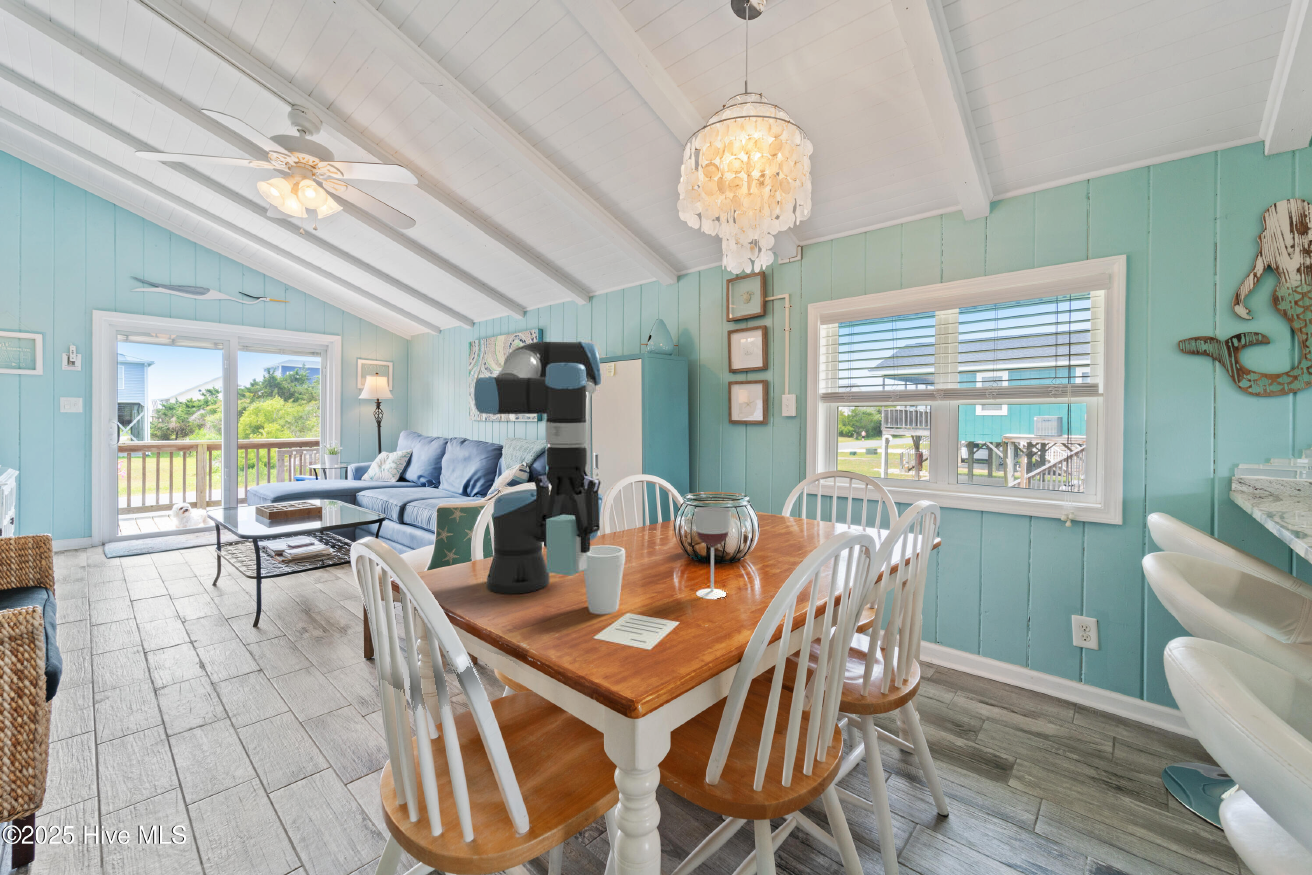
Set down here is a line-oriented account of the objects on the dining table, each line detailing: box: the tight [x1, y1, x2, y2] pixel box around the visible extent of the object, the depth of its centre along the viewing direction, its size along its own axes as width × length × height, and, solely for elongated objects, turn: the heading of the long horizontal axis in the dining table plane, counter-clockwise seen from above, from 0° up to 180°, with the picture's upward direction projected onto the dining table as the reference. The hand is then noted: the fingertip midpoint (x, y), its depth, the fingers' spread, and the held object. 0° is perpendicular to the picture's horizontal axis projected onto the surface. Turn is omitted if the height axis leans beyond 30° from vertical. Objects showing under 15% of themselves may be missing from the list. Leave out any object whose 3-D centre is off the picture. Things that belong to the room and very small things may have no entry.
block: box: [545, 515, 587, 577], centre depth 103 cm, size 6×6×10 cm
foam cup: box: [583, 545, 626, 615], centre depth 118 cm, size 10×9×13 cm
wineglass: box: [693, 506, 732, 600], centre depth 128 cm, size 8×9×20 cm
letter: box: [592, 612, 680, 651], centre depth 107 cm, size 12×14×1 cm
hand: (567, 566), depth 103 cm, fingers closed on block, 5 cm apart
